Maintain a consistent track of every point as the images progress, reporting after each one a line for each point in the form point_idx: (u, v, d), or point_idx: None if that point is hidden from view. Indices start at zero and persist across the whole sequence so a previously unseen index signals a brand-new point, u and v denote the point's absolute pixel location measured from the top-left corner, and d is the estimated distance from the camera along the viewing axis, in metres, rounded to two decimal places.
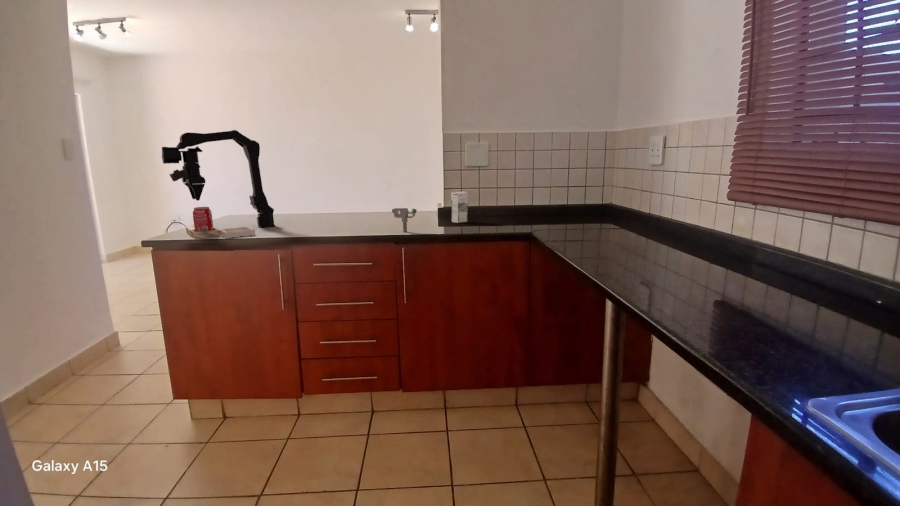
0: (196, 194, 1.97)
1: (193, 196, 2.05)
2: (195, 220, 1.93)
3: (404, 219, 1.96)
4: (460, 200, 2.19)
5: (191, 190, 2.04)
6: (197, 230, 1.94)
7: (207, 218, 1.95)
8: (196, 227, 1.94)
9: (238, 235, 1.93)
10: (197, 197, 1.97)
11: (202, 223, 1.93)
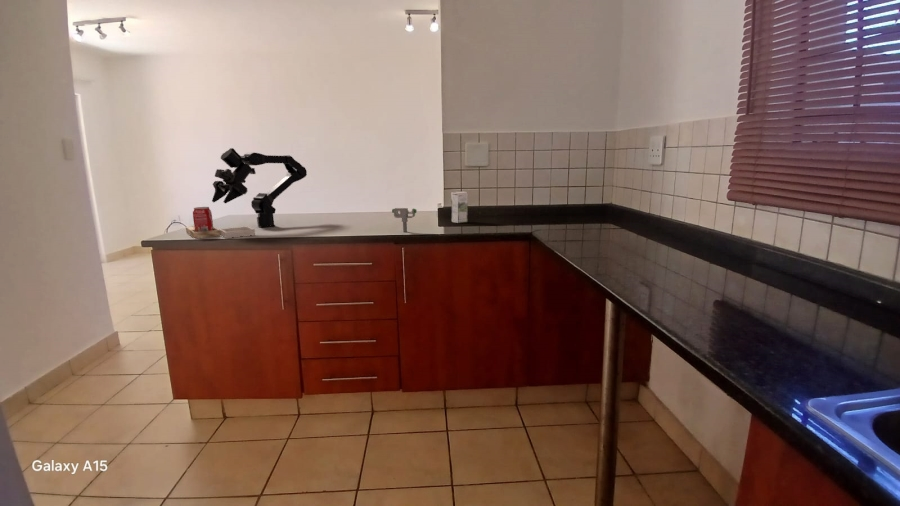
0: (228, 197, 1.99)
1: (214, 199, 2.04)
2: (195, 220, 1.93)
3: (404, 219, 1.96)
4: (460, 200, 2.19)
5: (217, 194, 2.05)
6: (197, 230, 1.94)
7: (207, 218, 1.95)
8: (196, 227, 1.94)
9: (238, 235, 1.93)
10: (226, 200, 1.99)
11: (202, 223, 1.93)
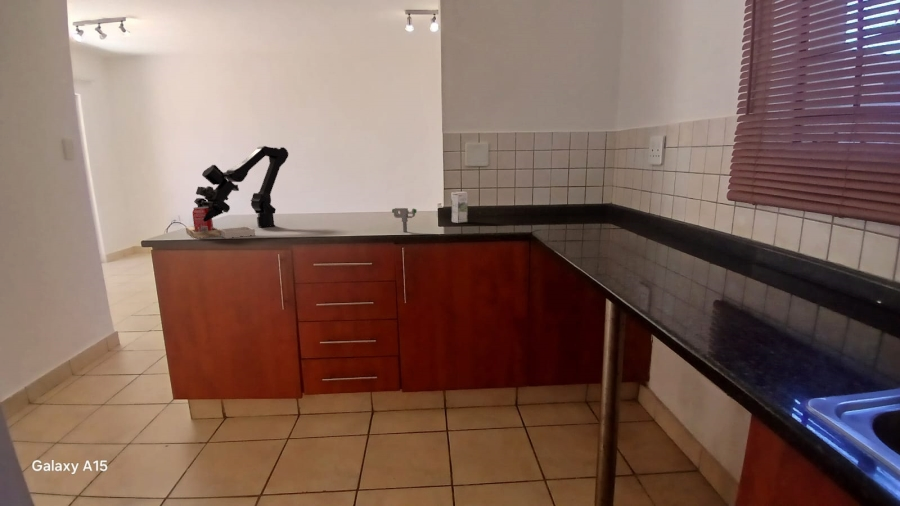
0: (208, 215, 1.94)
1: None
2: (195, 220, 1.93)
3: (404, 219, 1.96)
4: (460, 200, 2.19)
5: None
6: (197, 230, 1.94)
7: None
8: (196, 227, 1.94)
9: (238, 235, 1.93)
10: (206, 218, 1.94)
11: (201, 223, 1.93)
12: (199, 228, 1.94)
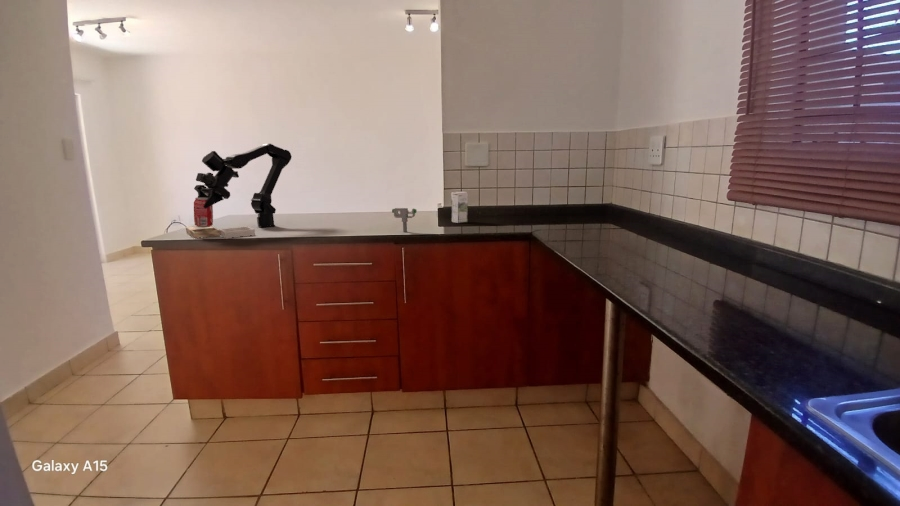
0: (208, 202, 1.93)
1: None
2: (195, 210, 1.93)
3: (404, 219, 1.96)
4: (460, 200, 2.19)
5: None
6: (196, 220, 1.94)
7: (208, 210, 1.94)
8: (195, 217, 1.93)
9: (238, 235, 1.93)
10: (206, 205, 1.93)
11: (202, 214, 1.93)
12: (199, 219, 1.93)
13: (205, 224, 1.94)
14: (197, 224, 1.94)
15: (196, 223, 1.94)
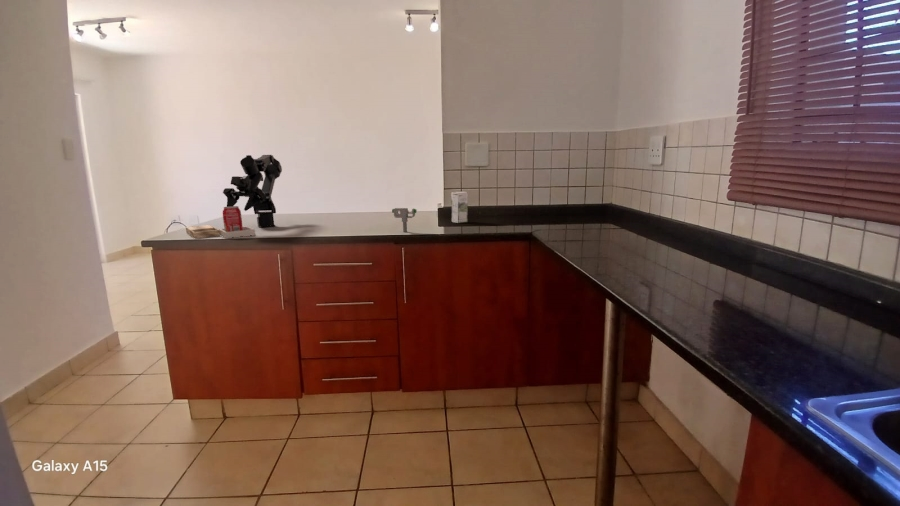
0: (248, 204, 1.96)
1: None
2: (227, 219, 1.93)
3: (404, 219, 1.96)
4: (460, 200, 2.19)
5: (230, 201, 2.00)
6: (229, 229, 1.94)
7: (239, 217, 1.96)
8: (228, 226, 1.94)
9: (238, 235, 1.93)
10: (247, 207, 1.96)
11: (234, 222, 1.94)
12: (231, 227, 1.94)
13: None
14: None
15: None
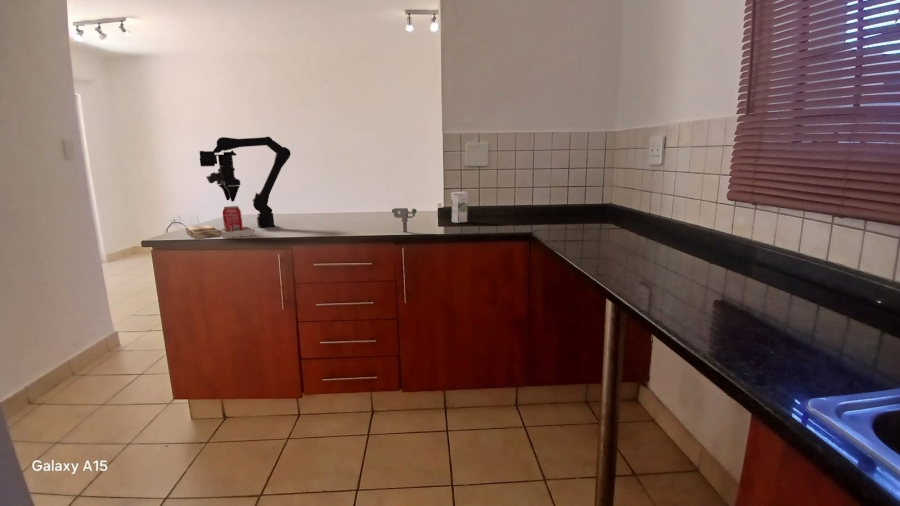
0: (231, 195, 2.08)
1: (227, 197, 2.16)
2: (227, 219, 1.94)
3: (404, 219, 1.96)
4: (460, 200, 2.19)
5: (225, 191, 2.15)
6: (229, 229, 1.94)
7: (239, 217, 1.96)
8: (228, 226, 1.94)
9: (238, 235, 1.93)
10: (232, 198, 2.08)
11: (234, 222, 1.94)
12: (231, 227, 1.94)
13: None
14: None
15: None
